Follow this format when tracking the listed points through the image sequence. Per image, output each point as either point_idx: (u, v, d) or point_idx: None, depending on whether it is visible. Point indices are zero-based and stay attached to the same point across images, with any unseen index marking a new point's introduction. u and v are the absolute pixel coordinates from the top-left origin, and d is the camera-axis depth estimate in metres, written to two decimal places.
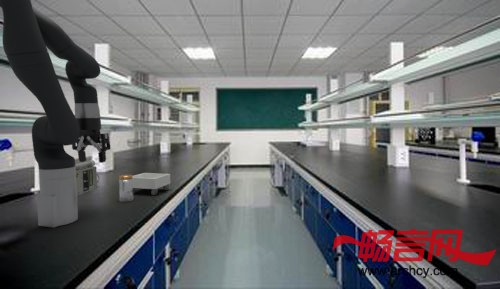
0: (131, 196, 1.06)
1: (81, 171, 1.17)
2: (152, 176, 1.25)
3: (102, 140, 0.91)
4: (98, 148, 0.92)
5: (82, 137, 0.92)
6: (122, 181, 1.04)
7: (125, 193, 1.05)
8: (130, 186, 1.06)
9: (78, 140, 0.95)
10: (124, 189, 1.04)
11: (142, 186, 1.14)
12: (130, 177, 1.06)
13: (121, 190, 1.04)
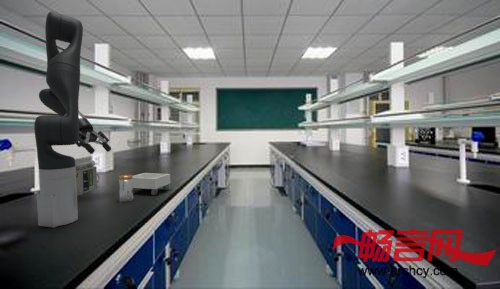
0: (131, 196, 1.06)
1: (81, 171, 1.17)
2: (152, 176, 1.25)
3: (103, 134, 1.16)
4: (103, 139, 1.13)
5: (88, 132, 1.08)
6: (122, 181, 1.04)
7: (125, 193, 1.05)
8: (130, 186, 1.06)
9: (77, 139, 1.04)
10: (124, 189, 1.04)
11: (142, 186, 1.14)
12: (130, 177, 1.06)
13: (121, 190, 1.04)
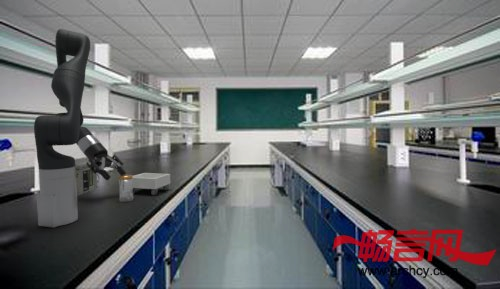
0: (131, 196, 1.06)
1: (81, 171, 1.17)
2: (152, 176, 1.25)
3: (117, 158, 1.15)
4: (118, 164, 1.12)
5: (103, 157, 1.07)
6: (122, 181, 1.04)
7: (125, 193, 1.05)
8: (130, 186, 1.06)
9: None
10: (124, 189, 1.04)
11: (142, 186, 1.14)
12: (130, 177, 1.06)
13: (121, 190, 1.04)
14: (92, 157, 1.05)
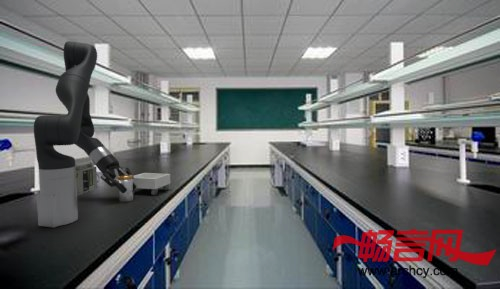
0: (131, 196, 1.06)
1: (81, 171, 1.17)
2: (152, 176, 1.25)
3: (129, 171, 1.13)
4: None
5: (115, 169, 1.06)
6: (122, 181, 1.04)
7: (125, 193, 1.04)
8: (130, 186, 1.06)
9: None
10: None
11: (142, 186, 1.14)
12: (130, 177, 1.06)
13: None
14: (104, 169, 1.04)
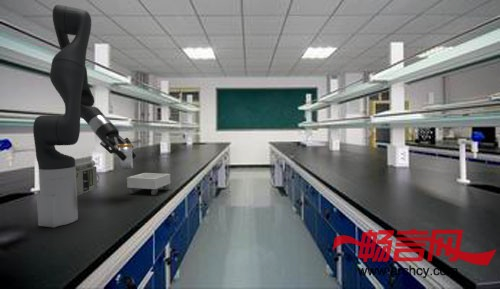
0: (131, 164, 1.06)
1: (81, 171, 1.17)
2: (152, 176, 1.25)
3: (129, 141, 1.12)
4: None
5: (115, 137, 1.06)
6: (121, 149, 1.04)
7: (125, 160, 1.04)
8: (130, 154, 1.06)
9: None
10: None
11: (142, 186, 1.14)
12: (130, 145, 1.05)
13: None
14: (104, 136, 1.04)
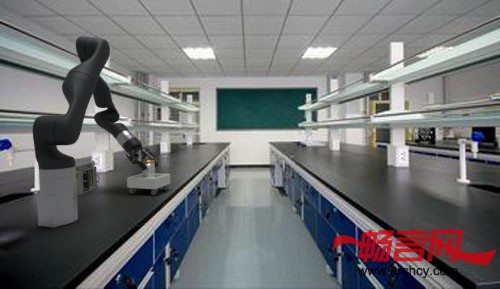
0: None
1: (81, 171, 1.17)
2: None
3: (150, 151, 1.26)
4: (151, 156, 1.24)
5: (139, 150, 1.19)
6: (146, 165, 1.17)
7: (149, 175, 1.18)
8: (153, 169, 1.19)
9: None
10: (147, 172, 1.17)
11: (142, 186, 1.14)
12: (153, 161, 1.19)
13: (145, 173, 1.18)
14: (130, 150, 1.17)
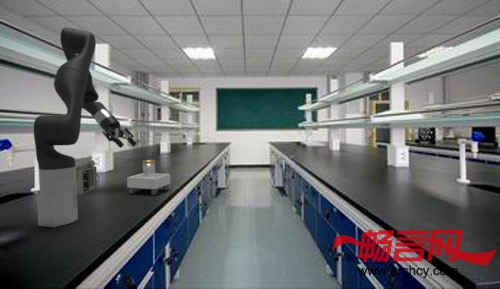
0: None
1: (81, 171, 1.17)
2: None
3: (128, 131, 1.29)
4: (129, 135, 1.26)
5: (116, 128, 1.21)
6: (146, 165, 1.17)
7: (149, 175, 1.18)
8: (153, 169, 1.19)
9: None
10: (148, 172, 1.17)
11: (142, 186, 1.14)
12: (153, 161, 1.19)
13: (145, 173, 1.18)
14: (107, 128, 1.19)
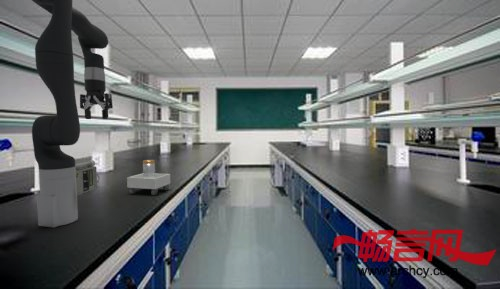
0: None
1: (81, 171, 1.17)
2: None
3: (106, 98, 1.07)
4: (102, 106, 1.08)
5: (89, 96, 1.08)
6: (146, 165, 1.17)
7: (149, 175, 1.18)
8: (153, 169, 1.19)
9: (85, 101, 1.12)
10: (148, 172, 1.17)
11: (142, 186, 1.14)
12: (153, 161, 1.19)
13: (145, 173, 1.18)
14: None
